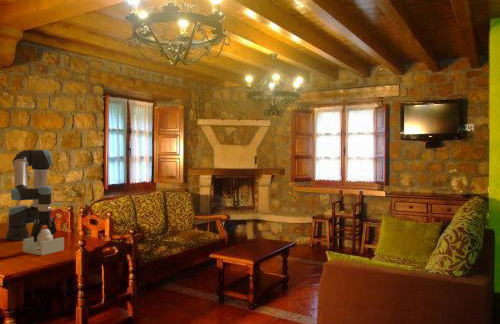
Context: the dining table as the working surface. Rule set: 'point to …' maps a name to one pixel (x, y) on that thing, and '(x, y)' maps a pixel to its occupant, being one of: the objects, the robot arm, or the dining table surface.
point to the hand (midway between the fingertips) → (43, 245)
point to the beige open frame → (43, 246)
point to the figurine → (44, 236)
